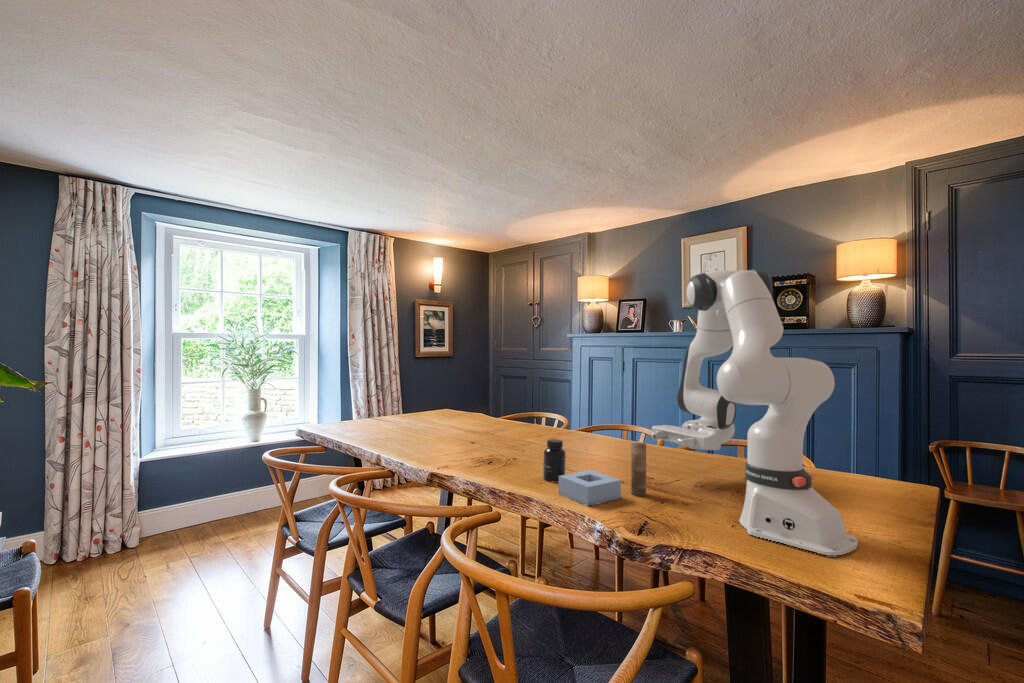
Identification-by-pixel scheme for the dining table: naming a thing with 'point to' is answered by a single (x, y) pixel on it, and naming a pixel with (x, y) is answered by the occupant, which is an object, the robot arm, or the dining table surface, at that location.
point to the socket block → (589, 487)
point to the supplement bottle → (554, 460)
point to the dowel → (638, 469)
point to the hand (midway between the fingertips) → (666, 439)
